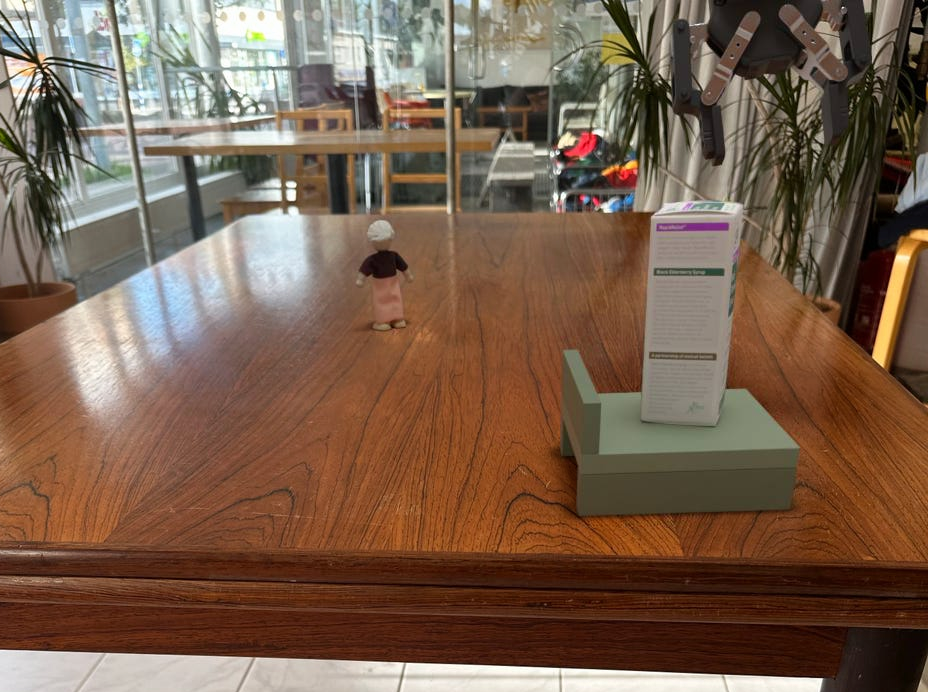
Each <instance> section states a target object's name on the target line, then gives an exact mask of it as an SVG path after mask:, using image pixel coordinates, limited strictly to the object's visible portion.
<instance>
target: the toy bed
mask: <svg viewBox="0 0 928 692" xmlns="http://www.w3.org/2000/svg"><path fill="white" fill-rule="evenodd" d="M561 361H562V362H561V398H560V399H561V400H560V431H559V432H560V433H559V435H560V436H559V450H560V453H561V457H572V456H573V457H575V460H576V463H577V466H578V467H577V480H576V481H577V483H576V487H577V488H576V505H575V506H576V509H577V513H578V514H577V515H578V516H579V517H591V516H595V517H596V516H621V515H622V516H623V515H624V516H627V515H653V514H655V515H656V514H686V513H687V514H689V513H691V514H692V513H720V512H722V513H723V512H748V511H749V512H750V511H751V512H752V511H754V512H755V511H778V510H779V511H781V510H782V511H783V510H784V511H786V510H791V508H792V501H793V494H794V488H795V484H796V483H795V482H796V476H797V471H798V463H799V459H800V452H801V447H800V445H798V443H797V442H796V441H795V440H794V439H793V438H792V437H791V436H790V435H789V433H788V432H786V431H785V429H784V428H783V427H782V426H781V425H780V424H779V423H778V422H777V421H776V420H775V418H773V416H772V415H771V414H770V413H769V412H768V411H767V410H766V409H765V407H764V406H762V405H761V403H760V402H759V401H758V400H757V399H756V398H755V397H754V396H753V395H752V394H751V392H750V391H749V390H748V389H747V388H726V389H725V400H724V404H723V408H722V411H721V414H720V417H719V419H718V421H717V424H716V426H695V425H676V424H664V423H655V422H647V421H642V420H641V419H640V410H641V391H639V392H637V391H636V392H610V393H609V392H608V393H607V392H606V393H605V392H604V393H598V391H597V390H596V387H595V385H594V383H593V381H592V378H591V377H590V374H589V372H588V369H587V368H586V365H585V364H584V361H583V359H582V356H581V354H580V352H579V349H563V350H562V357H561Z"/></svg>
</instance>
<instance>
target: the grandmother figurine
mask: <svg viewBox="0 0 928 692" xmlns="http://www.w3.org/2000/svg"><path fill="white" fill-rule="evenodd" d="M366 236H367V240H368V242H369V243H370V244H371V246H372V248H373V250H375V251H377V252H374V253H373V254H370V255H368V256H367V257H365V259H364V260H363V261H362V263H361V265H360V266H359V268H358V275H357V280H356V281H355V287H357V288H358V289H361V288H363V287H364V286H365V282H366V280H367V278H368V277H370V276H372V277H371V285H372V286H371V287H372V297H373V310H374V311H373V312H374V318H375V322H374V323H373V325H372V330H373V329H374V330H375V331H376V330H377V331H390V330H391V329H392V327H393V328H395V329H397V328H398V329H400V328H406V327H407V324H406V321H405V319H404V318H405V316H404V305H403V304H404V303H403V297H402V293H401V287H400V282H399V278H398V274H397V273H398V271H399V272H401V274H402V276H403V277H404V278H405V282H406V283H408V284H411V283H413V282H414V279H415V278H414V276H413V275H412V273H411V270H410V268H409V264H408V263H407V262H406V261H405V260H404V258H403V257H402V256H401V255H400V254H399V253H398V252H397V251H395V250H389V249H390V248H391V247H392V242H393V241H394V240H395V231H394V229H393V227H392V225H391V224H390V222H389V221H387V220H384V219H378V220H375V221H374V222H372V224H370V225H369V227H368V230H367V232H366Z"/></svg>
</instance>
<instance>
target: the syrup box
mask: <svg viewBox="0 0 928 692" xmlns="http://www.w3.org/2000/svg"><path fill="white" fill-rule="evenodd" d="M743 215H744V204H743V203H742V202H737V201H729V200H712V199H711V200H709V199H708V200H706V199H704V200H687V201H678V202H664V203H663V205H662V207H661V208H660V209H658V210H657V211H656V212H655V213H654V214H653V215H651V217H650V229H649V231H650V233H649V247H648V248H649V249H648V250H649V251H648V265H647V266H648V267H647V280H646V281H647V282H646V283H647V284H646V300H645V317H644V334H643V335H644V337H643V355H642V371H641V375H642V376H641V389H640V390H641V391H640V392H641V410H640V419H641V420H642V421H647V422H655V423H664V424H676V425H695V426H716V424H717V421H718V419H719V417H720V414H721V411H722V408H723V404H724V400H725V389H727V379H728V378H727V377H728V370H729V369H728V368H729V356H730V348H731V339H732V329H733V328H732V327H733V317H734V310H735V309H734V308H735V298H736V288H737V287H736V286H737V277H738V265H739V256H740V246H741V233H742V226H743V225H742V224H743V217H744V216H743Z"/></svg>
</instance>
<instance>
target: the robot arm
mask: <svg viewBox="0 0 928 692" xmlns="http://www.w3.org/2000/svg"><path fill="white" fill-rule="evenodd" d="M707 2H708V3H707V4H708V13H709V19H708V21H707V22H701V23H696V24H695V23H694V24H690V22H689V21H688V20H687V19H685V18H679V19H677V20H675V21H674V23H673V26H672V29H671V34H670V39H669V47H668V48H669V65H670V66H669V69H670V86H671V87H670V88H671V89H670V90H671V109H672V113H673V114H674V115H675V116H677V117H678V116H684V115H690V116H693V117H695V118H696V120H697V122H698V128H699V136H700V137H699V138H700V146H701V147H700V148H701V154H702V156H703V159H704V160H705V161H707V160H710V162H711V166H712V168H713V167H714V168H715V167H719V166H722V165H723V163H724V160H725V158H726V144H725V132H724V123H723V114H722V113H723V112H722V106H721V104H719V103H720V101H721V99H722V97H723V96H724V95H725V94H726V92H727V90H728V88H729V87H730V85H731V83H732V81H733V79H734V78H735V77H736V76H737V77H740V78H743V80H744V81H749V80H755V79H757V78H759V77H762V76H763V75H772V76H773V75H774V76H777V75H781V74H787V72H788V70H789V69H791V68H792V70H793V71H794V72H796V74H797V75H798V76H799V77H800V78H801V79H803V80H804V81H810V83H811V84H812V85H814V87H816V89H817V90H818V91H819V92H821V94H822V96H821V98H820V100H819V101H820V111H821V122H822V134H823V143H824V146H825V148H829V147H830V148H831V147H835V146H837V144H838V143H839V142H840V140H841V139H842V137H843V135H844V134H845V133H846V131H847V129H848V128H849V124H850V113H849V111H850V110H849V101H848V90H847V87H848V86H850V85H856V84H858V83H860V81H861V80H862V78H863V77H864V75H865V73H866V72H867V70H868V68H870V66H871V64H872V63H873V55H872V47H871V40H870V35H869V30H868V29H869V28H868V23H867V16H866V9H865V4H864V0H707ZM820 20H821V21H822V20H823V21H826V22H827V23H828V25H829V28H830V29H831V31H832V32H835V33H836V32H837V33H838V40H839V45H840V52H841V58H842V61H841V60H840V59H839V58H838V57H837V56H836V55H835V54H834V53H833V52H832V51H831V49H830V45H829V43H828V42H827V40H825V39H824V38H823V37H822V36H821V35H820V34H819V33H818V32H817V31H816V28H817V27H818V26H819V25H818V24H819V22H820ZM704 43H706V46H707V47H708V48H709V49H710V50H711V51H712V52H713V53H714V54H715V56H717V58H719V61H718V63H717V65H716V67H715V69H714V71H713V73H712V75H711V77H710V78H709V80H708V82H707V83H706V86H705V88H704V89H703V90H702V89H696V88H693V75H692V60H693V59H695V58H696V57H697V55H698V53H699V49H700V46H701V45H702V44H704Z"/></svg>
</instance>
